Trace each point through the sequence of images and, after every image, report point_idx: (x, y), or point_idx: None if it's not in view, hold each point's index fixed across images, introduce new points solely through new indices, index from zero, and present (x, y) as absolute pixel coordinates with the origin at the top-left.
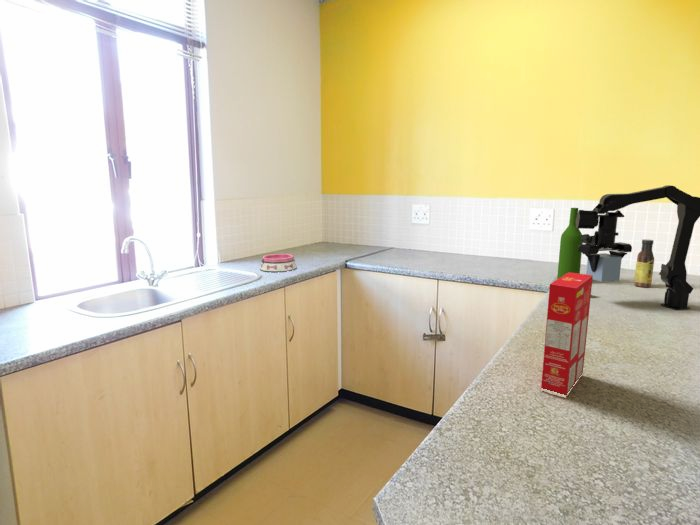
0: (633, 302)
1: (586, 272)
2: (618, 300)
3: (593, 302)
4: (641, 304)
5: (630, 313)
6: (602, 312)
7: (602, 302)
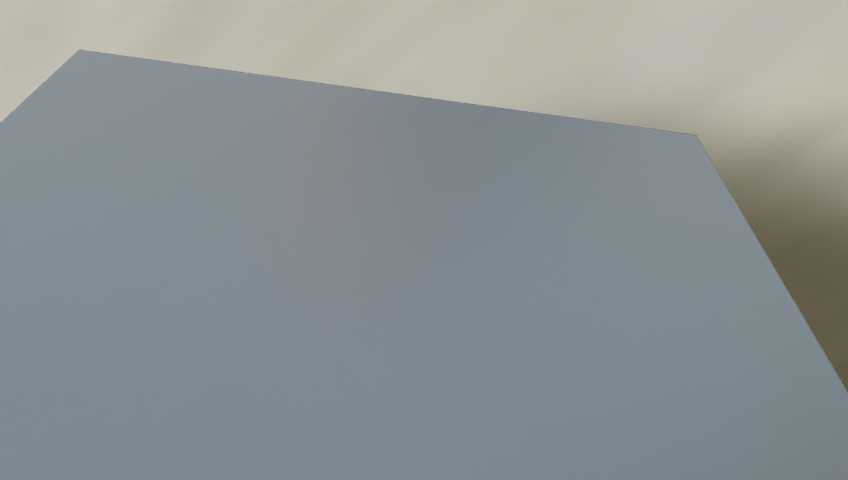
0: (830, 245)
1: (8, 125)
2: (765, 109)
3: (318, 39)
4: (811, 327)
5: None
6: None
7: (447, 91)
